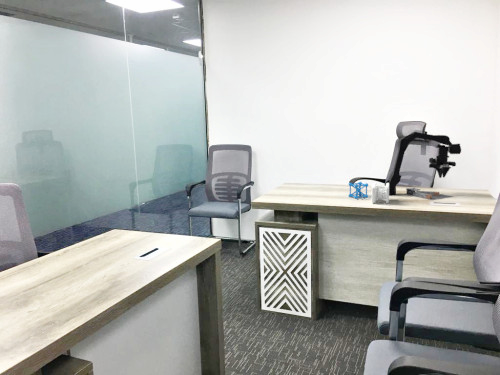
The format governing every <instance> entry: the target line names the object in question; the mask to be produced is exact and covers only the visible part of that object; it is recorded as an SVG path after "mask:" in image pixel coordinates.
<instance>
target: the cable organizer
mask: <svg viewBox="0 0 500 375" xmlns="http://www.w3.org/2000/svg"><path fill="white" fill-rule="evenodd" d="M385 183H386V182H385ZM370 188H371V203H372V204H375V203H376V201H385V203H386V204H389V203H390V196H389V183H386V184H385V185H377V183H376V182H372V184H371V187H370Z"/></svg>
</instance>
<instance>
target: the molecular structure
mask: <svg viewBox="0 0 500 375" xmlns="http://www.w3.org/2000/svg"><path fill="white" fill-rule="evenodd" d="M348 186H349V194H348V198H351V197H353V198H354V199H355V200H358V199H359V198H366V199H367V198H369V194H368V187H369V183H362V182H361V181H359V182H358V183H357V182H356V183H355V182H354V183H352V182H348ZM352 188H354V189H355V191H354V192H352ZM364 188H365V193H363V192H362V191H361V190H362V189H364Z"/></svg>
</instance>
